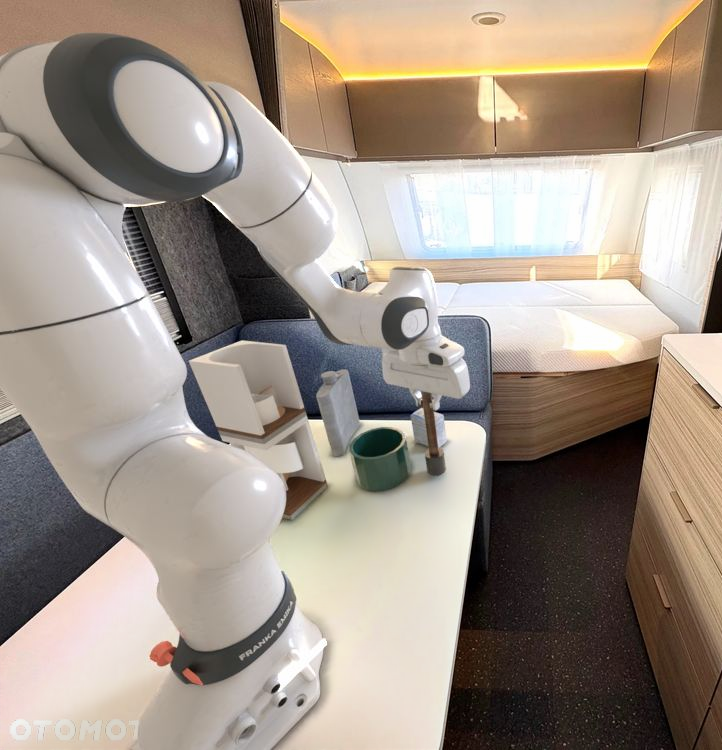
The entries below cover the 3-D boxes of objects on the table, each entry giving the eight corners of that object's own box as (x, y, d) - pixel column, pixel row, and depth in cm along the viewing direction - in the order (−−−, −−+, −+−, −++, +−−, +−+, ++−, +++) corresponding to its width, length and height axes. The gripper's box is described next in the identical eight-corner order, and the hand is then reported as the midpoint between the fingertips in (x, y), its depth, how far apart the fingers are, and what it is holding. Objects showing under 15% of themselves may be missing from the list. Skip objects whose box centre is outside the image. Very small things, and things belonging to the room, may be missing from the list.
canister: (387, 497, 85) (380, 465, 81) (345, 482, 90) (336, 450, 86) (421, 464, 95) (416, 433, 91) (382, 452, 100) (376, 422, 96)
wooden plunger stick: (438, 478, 88) (428, 393, 79) (423, 473, 90) (410, 389, 81) (449, 466, 92) (440, 384, 83) (434, 462, 94) (423, 381, 84)
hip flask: (342, 456, 99) (324, 387, 91) (327, 456, 99) (307, 388, 91) (361, 422, 114) (347, 360, 105) (348, 423, 114) (332, 361, 105)
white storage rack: (251, 508, 83) (188, 360, 68) (289, 477, 92) (241, 340, 77) (292, 520, 80) (235, 367, 65) (327, 486, 89) (285, 344, 74)
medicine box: (447, 442, 103) (444, 414, 99) (436, 450, 100) (432, 422, 96) (425, 433, 107) (421, 406, 103) (414, 442, 104) (409, 414, 100)
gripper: (370, 346, 80) (381, 404, 85) (454, 360, 71) (460, 423, 77) (390, 337, 85) (399, 392, 90) (471, 348, 76) (475, 409, 82)
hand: (428, 407), depth 84 cm, fingers closed on wooden plunger stick, 2 cm apart
